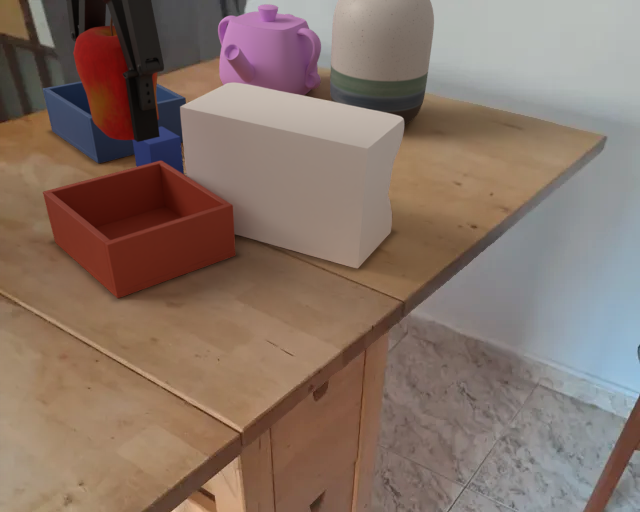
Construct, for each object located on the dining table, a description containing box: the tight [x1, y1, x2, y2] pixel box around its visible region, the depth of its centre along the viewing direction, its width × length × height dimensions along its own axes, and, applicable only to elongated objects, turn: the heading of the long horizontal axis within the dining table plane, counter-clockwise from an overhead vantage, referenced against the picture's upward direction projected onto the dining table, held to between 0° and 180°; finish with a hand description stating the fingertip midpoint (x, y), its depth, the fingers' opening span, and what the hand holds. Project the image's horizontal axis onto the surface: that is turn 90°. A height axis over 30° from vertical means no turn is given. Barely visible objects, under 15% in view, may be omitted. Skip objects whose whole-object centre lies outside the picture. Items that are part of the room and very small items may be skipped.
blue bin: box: [42, 80, 187, 164], centre depth 113 cm, size 17×17×7 cm
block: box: [133, 127, 185, 175], centre depth 100 cm, size 5×5×7 cm
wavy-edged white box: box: [180, 83, 405, 270], centre depth 91 cm, size 25×18×15 cm
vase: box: [329, 0, 435, 126], centre depth 117 cm, size 17×17×24 cm
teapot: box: [217, 3, 322, 96], centre depth 130 cm, size 19×21×14 cm
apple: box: [72, 17, 159, 140], centre depth 74 cm, size 9×8×12 cm
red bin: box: [42, 160, 237, 299], centre depth 85 cm, size 17×17×7 cm
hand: (126, 125), depth 77 cm, fingers closed on apple, 8 cm apart
